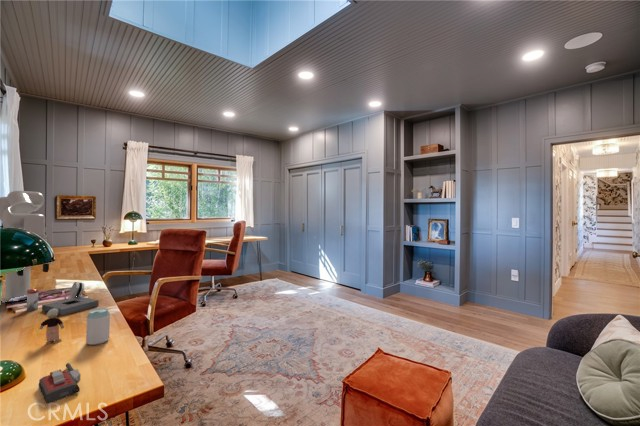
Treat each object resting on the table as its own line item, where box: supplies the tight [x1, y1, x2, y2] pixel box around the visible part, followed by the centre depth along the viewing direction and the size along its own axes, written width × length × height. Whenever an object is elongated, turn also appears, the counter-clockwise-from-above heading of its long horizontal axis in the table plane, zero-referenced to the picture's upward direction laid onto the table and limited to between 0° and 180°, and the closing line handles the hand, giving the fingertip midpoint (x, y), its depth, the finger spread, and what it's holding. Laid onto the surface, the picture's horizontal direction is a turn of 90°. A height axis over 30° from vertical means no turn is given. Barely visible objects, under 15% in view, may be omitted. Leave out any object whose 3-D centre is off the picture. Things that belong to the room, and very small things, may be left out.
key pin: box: [26, 288, 39, 312], centre depth 144 cm, size 4×4×10 cm
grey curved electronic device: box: [68, 281, 85, 299], centre depth 164 cm, size 17×5×10 cm, turn 44°
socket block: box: [41, 296, 99, 317], centre depth 147 cm, size 16×16×3 cm
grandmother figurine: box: [38, 309, 65, 345], centre depth 110 cm, size 8×4×13 cm, turn 115°
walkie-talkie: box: [38, 363, 81, 404], centre depth 84 cm, size 9×4×20 cm
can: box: [85, 307, 111, 346], centre depth 111 cm, size 7×7×12 cm
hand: (33, 273), depth 144 cm, fingers open, 9 cm apart
